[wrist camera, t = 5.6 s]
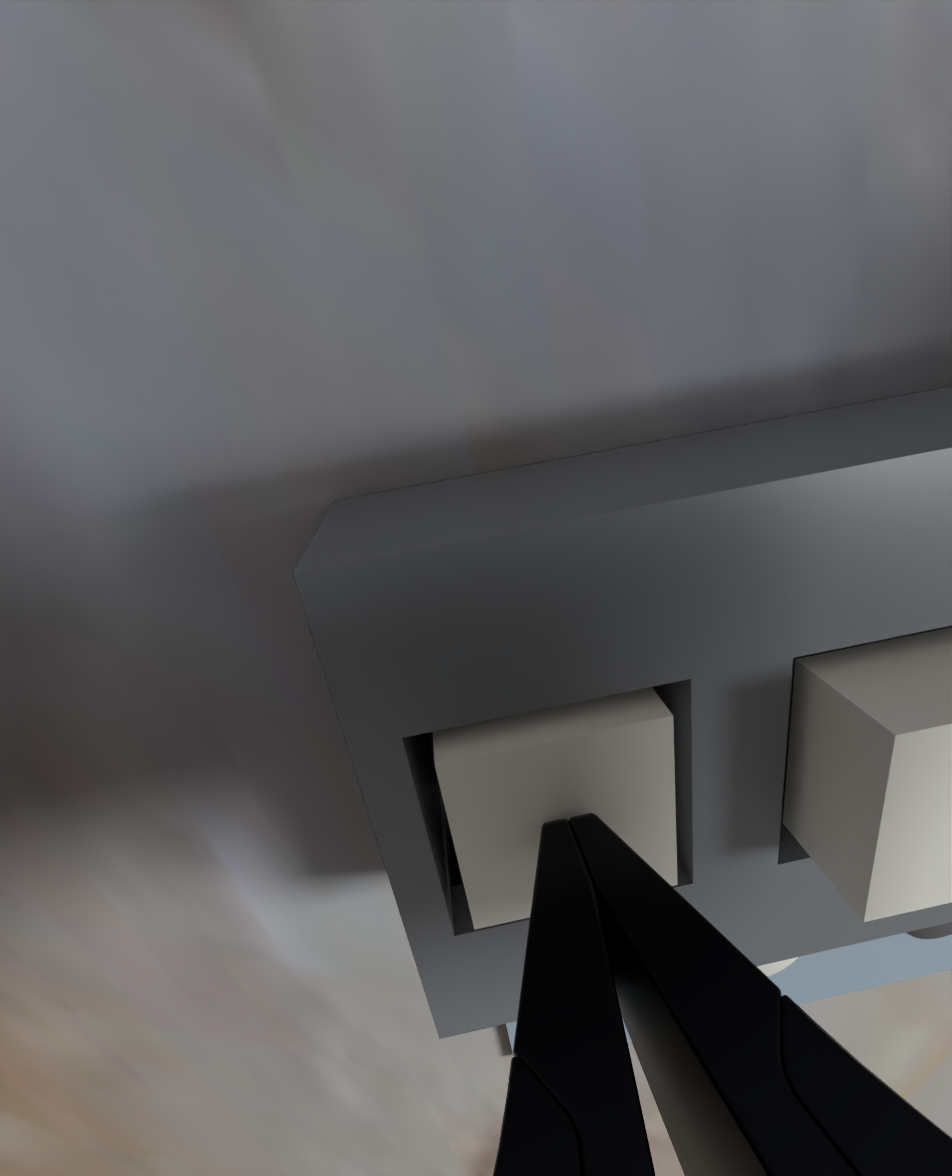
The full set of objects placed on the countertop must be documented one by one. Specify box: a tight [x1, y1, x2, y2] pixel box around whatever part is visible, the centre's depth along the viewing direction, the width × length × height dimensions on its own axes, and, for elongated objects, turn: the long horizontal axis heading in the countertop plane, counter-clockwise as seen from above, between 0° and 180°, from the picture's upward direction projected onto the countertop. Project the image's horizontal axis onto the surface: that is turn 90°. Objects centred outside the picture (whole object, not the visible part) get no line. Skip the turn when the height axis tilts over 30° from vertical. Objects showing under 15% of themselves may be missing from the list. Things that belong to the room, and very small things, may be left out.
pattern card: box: [506, 922, 952, 1057], centre depth 17 cm, size 16×7×1 cm, turn 100°
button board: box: [293, 386, 952, 1039], centre depth 11 cm, size 18×10×4 cm, turn 100°
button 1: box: [433, 687, 678, 930], centre depth 10 cm, size 4×4×2 cm
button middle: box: [783, 627, 952, 922], centre depth 9 cm, size 4×4×2 cm
